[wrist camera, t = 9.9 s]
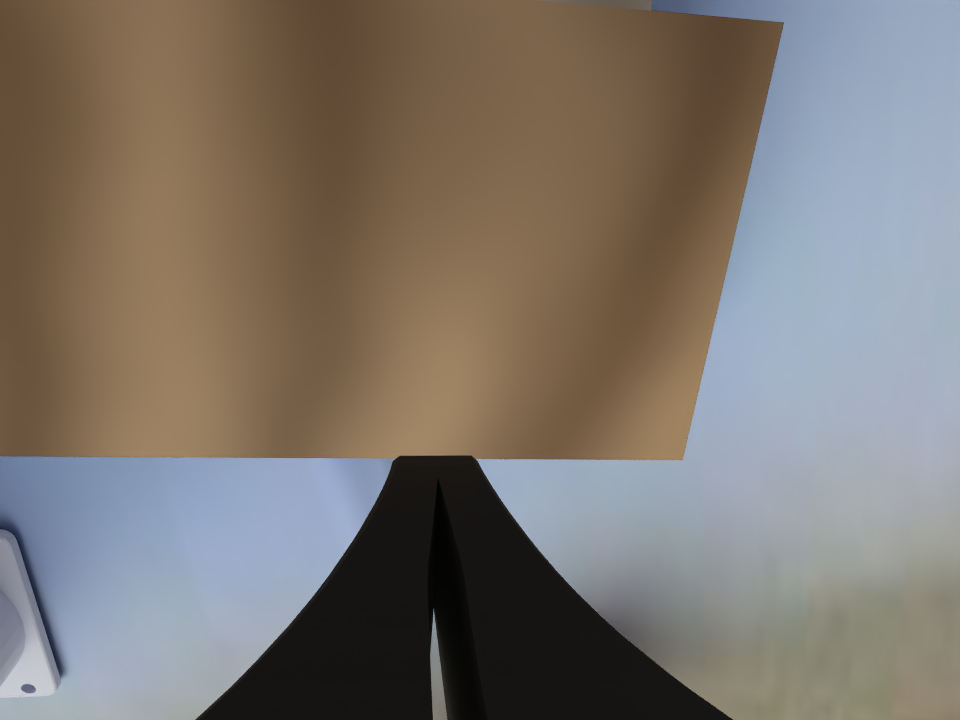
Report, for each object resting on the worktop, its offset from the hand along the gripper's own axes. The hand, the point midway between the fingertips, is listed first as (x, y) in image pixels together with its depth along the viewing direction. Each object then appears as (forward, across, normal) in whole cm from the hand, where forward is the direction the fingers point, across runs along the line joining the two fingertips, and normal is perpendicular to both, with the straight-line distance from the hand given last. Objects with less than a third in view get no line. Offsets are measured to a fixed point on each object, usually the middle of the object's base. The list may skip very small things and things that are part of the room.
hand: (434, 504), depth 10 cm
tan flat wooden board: (+7, +3, -3) cm, 8 cm away
